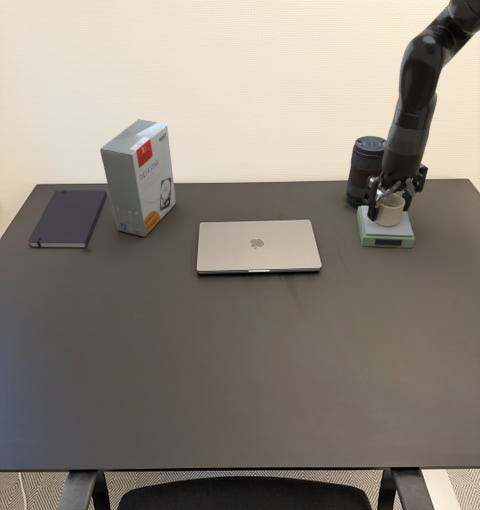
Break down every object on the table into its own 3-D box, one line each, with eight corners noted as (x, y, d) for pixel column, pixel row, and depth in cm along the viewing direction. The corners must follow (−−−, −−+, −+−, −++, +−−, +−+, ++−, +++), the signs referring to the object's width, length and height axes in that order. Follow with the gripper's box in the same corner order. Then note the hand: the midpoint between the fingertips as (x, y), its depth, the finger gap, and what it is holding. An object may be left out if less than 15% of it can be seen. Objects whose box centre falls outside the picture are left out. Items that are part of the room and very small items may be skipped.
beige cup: (397, 212, 107) (402, 193, 103) (401, 228, 103) (407, 208, 99) (370, 211, 107) (375, 192, 103) (373, 227, 103) (378, 207, 99)
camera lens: (373, 192, 118) (386, 134, 107) (380, 210, 113) (395, 151, 102) (341, 192, 118) (351, 134, 107) (347, 210, 113) (358, 151, 102)
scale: (403, 216, 111) (406, 205, 109) (412, 248, 102) (416, 237, 100) (356, 214, 112) (358, 203, 109) (361, 246, 103) (364, 235, 101)
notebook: (86, 248, 104) (107, 195, 118) (84, 242, 102) (105, 190, 117) (29, 247, 104) (57, 195, 118) (27, 242, 103) (55, 190, 117)
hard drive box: (146, 238, 106) (130, 155, 91) (116, 231, 108) (96, 148, 93) (177, 202, 116) (167, 122, 101) (150, 196, 118) (136, 117, 103)
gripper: (388, 161, 88) (371, 232, 100) (447, 144, 92) (424, 215, 104) (364, 144, 92) (351, 214, 104) (421, 129, 97) (402, 198, 108)
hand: (387, 214), depth 104 cm, fingers open, 8 cm apart
